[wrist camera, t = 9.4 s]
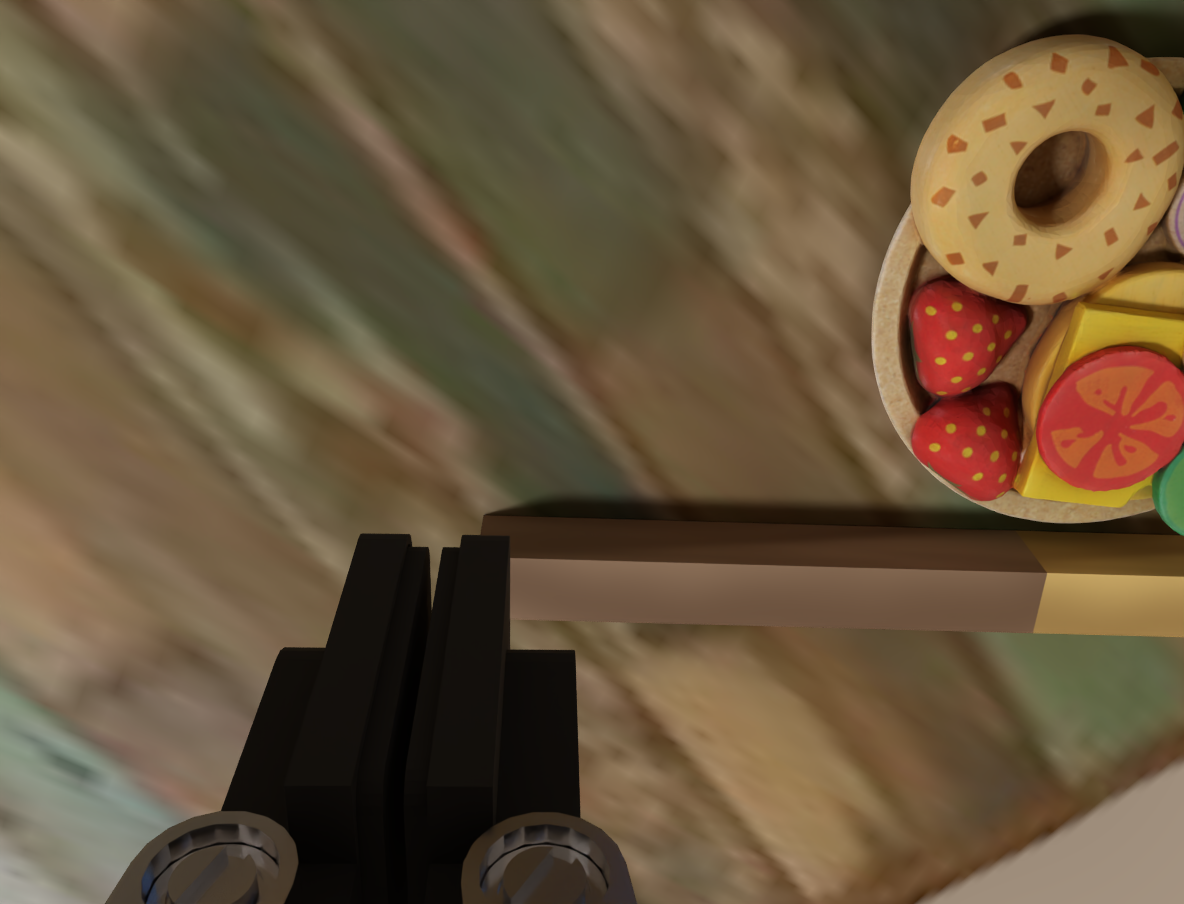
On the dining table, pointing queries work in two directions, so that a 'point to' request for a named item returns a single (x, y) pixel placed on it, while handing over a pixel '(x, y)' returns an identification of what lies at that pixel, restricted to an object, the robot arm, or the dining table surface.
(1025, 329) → the toy food set
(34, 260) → the dining table surface
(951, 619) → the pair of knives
